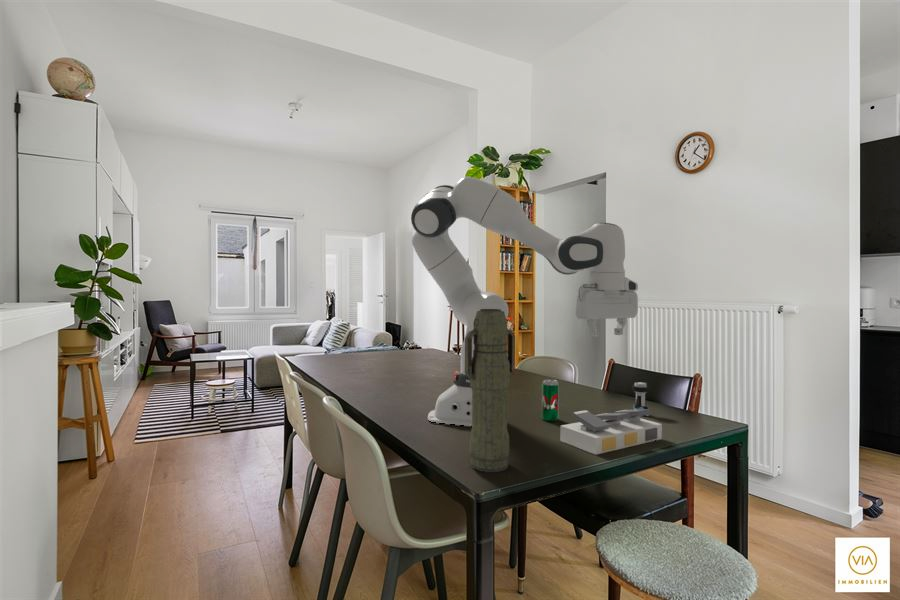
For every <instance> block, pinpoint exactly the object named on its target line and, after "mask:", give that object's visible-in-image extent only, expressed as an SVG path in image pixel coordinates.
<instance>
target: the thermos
mask: <svg viewBox="0 0 900 600" xmlns="http://www.w3.org/2000/svg"><path fill="white" fill-rule="evenodd" d="M465 335H466V334H465ZM515 336H516V335H515V334H514V332H513V330H512V329H510V328H509V329H508V319H506V316H505V313H504V311H501V309H480V311H477V313H476V316H475V319H474V329H473V331H469V332H468V334H467V335H466V337H464V339H465V374H466V375H467V376H468V377H469V378H470V387H471V389H472V427H471V430H470V434H469V441H468V442H469V443H468V444H469V446H468V447H469V451H468V452H469V466H470V465H471V466H470V467H471V469H473V468H474V470H475V469H477V470H476V471H478V470H479V471H478V472H483V471H484V473H498V472H502V471H505V470H507V469H508V468H509V456H510V434H509V432H508V391H509V389H510V383H511V382H510V381H511V380H510V378H512V376H514V375H515V366H516V365H515V364H516V363H515V362H516V361H515V359H516V357H515V356H516V355H515V354H516V352H515V350H516V348H515V347H516V343H515V342H516V337H515ZM472 338H473V344H474V350H473V358H472Z"/></svg>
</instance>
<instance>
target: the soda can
mask: <svg viewBox="0 0 900 600" xmlns="http://www.w3.org/2000/svg"><path fill="white" fill-rule="evenodd" d="M559 387H560V384H559V382H558V380H556V379H548V378H547V379H543V381H542V383H541V418H542V420H543V421H545V422H551V421H553V422H556V421H558V420H559V417H560V416H559V415H560V414H559V407H560V406H559V405H560V399H559V398H560V393H559V392H560V388H559Z"/></svg>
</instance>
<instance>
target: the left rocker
mask: <svg viewBox="0 0 900 600" xmlns="http://www.w3.org/2000/svg"><path fill="white" fill-rule="evenodd" d="M595 415H596V414H593V413H591V412H590V411H588V410H586V409H585V410H579V411H574V412H572V414H571V418H573V419H575V420H576V421H577V422H580V423H582V424H583V425H585V426H586V427H588V428H589V429H591V430H593V431H594V432H596V431H601V430H606V429H609V424H608V423H606V422H604V421H603V420H601V419H600V418H598V417H596V416H595Z"/></svg>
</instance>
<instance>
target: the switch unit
mask: <svg viewBox="0 0 900 600" xmlns="http://www.w3.org/2000/svg"><path fill="white" fill-rule="evenodd" d="M603 421H604V422H606V423H608V424H609V429H606V430H601V431H596V432H594V431H593V430H591V429H589V428H588V427H586V426H585V425H583V424H582V423H580V422H579V421H577V422H573V423H568V424H562V425H560V428H559V429H560V431H559V432H560V434H559V435H560V438H559V439H560V440H559V441H560V442H563V443H565V444H568V445H570V446H573V447H575V448H578V449H579V450H582V451H585V452H588V453H591V454H593V455H600V454H605V453H608V452H615V451H618V450H621V449H626V448H629V447H634V446H635V447H636V446H639V445H641V444H642V445H643V444H646V443H652V442H654V441H655V440H656V441H659V440H662V438H663V436H662V435H663V432H662V431H663V424H662V423H659V422H656V421H652V420H648V419H645V418H641V416H631V418H626V419H621V420H603ZM656 441H655V442H656Z"/></svg>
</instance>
